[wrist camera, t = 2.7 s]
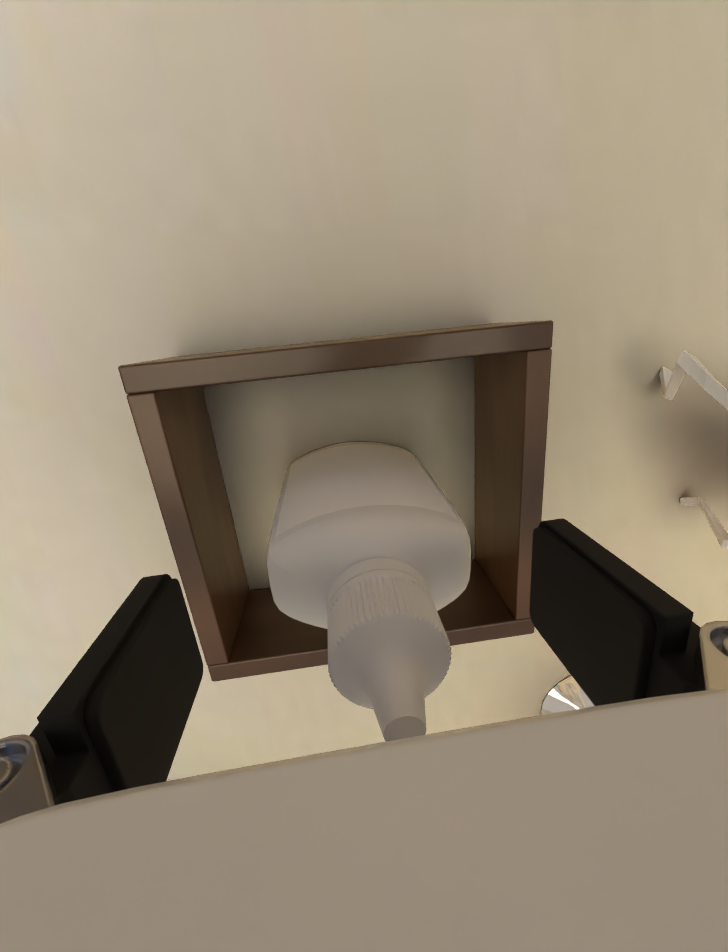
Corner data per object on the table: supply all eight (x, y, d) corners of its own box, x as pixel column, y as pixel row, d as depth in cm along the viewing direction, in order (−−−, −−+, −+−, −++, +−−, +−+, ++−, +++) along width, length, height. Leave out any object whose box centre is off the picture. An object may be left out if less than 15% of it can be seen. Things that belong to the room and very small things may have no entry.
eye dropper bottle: (312, 406, 16) (291, 565, 5) (430, 458, 18) (618, 677, 6) (274, 497, 18) (187, 788, 6) (387, 540, 19) (483, 845, 8)
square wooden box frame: (173, 356, 15) (116, 366, 11) (493, 323, 16) (554, 320, 12) (235, 606, 19) (211, 682, 15) (490, 570, 20) (534, 634, 16)
